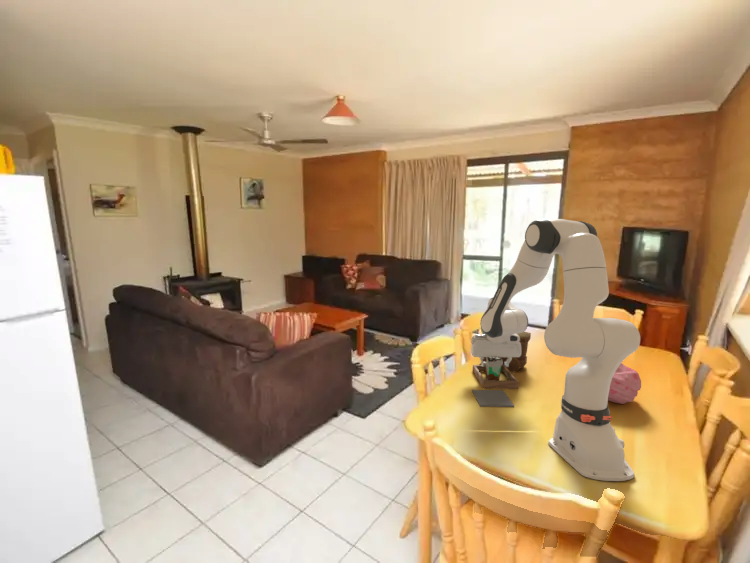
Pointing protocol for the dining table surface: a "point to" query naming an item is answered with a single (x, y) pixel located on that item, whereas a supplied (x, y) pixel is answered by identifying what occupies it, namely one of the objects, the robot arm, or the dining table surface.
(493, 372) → the food container
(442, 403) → the dining table surface
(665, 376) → the dining table surface
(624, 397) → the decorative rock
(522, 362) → the wooden toy train
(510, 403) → the mat
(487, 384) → the brown wooden frame
